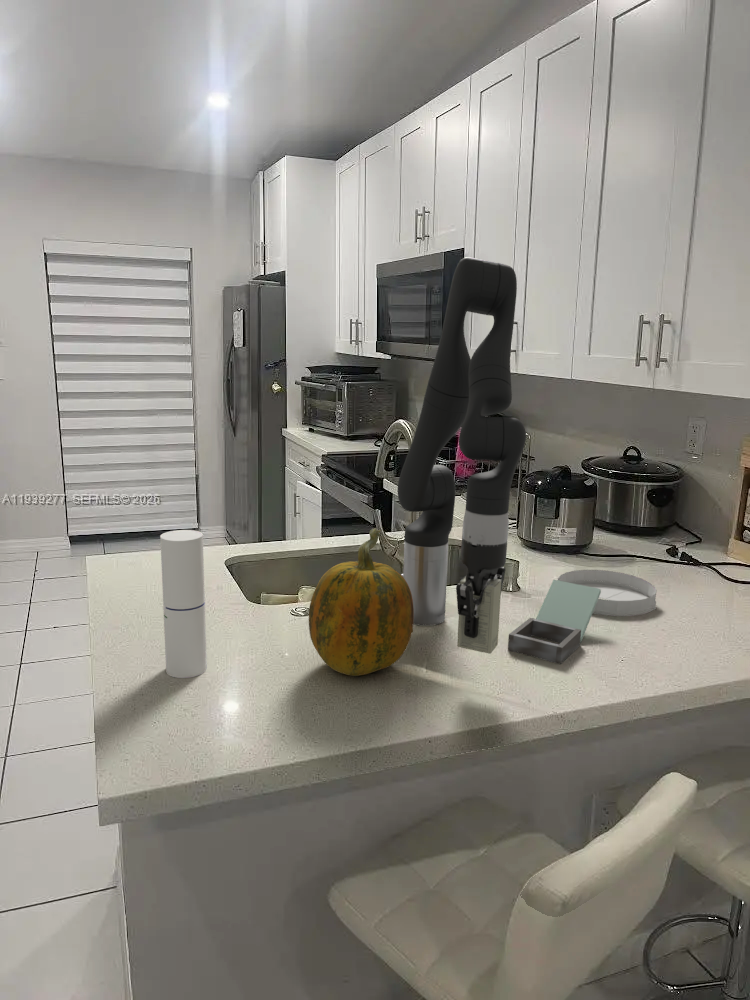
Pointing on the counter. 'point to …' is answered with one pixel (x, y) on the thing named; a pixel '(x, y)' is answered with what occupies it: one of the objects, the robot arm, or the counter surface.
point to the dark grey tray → (542, 649)
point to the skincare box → (483, 621)
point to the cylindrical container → (184, 603)
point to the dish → (616, 591)
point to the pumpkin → (361, 614)
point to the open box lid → (569, 605)
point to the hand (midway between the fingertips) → (477, 631)
